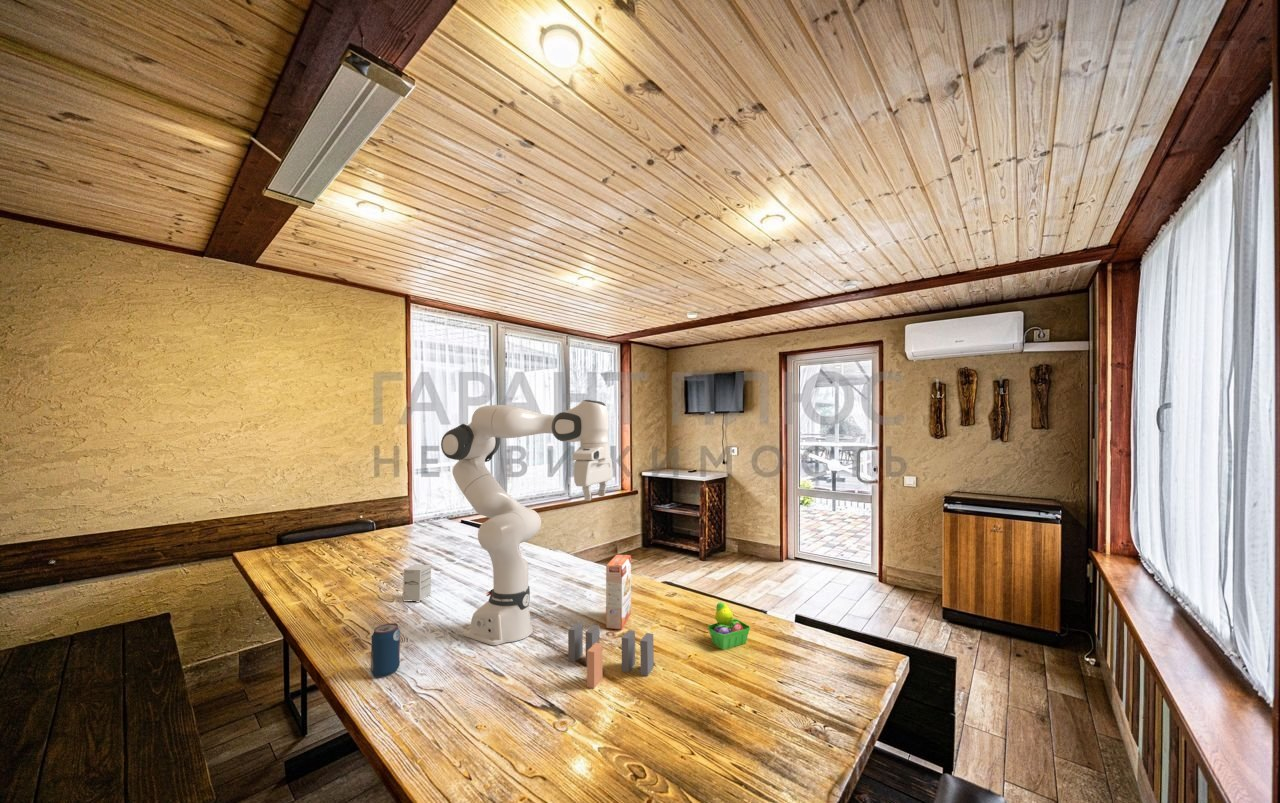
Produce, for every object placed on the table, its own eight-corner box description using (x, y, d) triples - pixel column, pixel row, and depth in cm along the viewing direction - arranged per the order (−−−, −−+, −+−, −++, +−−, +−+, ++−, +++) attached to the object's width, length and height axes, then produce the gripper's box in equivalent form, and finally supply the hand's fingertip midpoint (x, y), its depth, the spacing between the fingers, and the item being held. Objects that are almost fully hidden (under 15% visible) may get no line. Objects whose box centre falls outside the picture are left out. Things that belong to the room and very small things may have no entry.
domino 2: (585, 664, 130) (585, 632, 131) (593, 656, 135) (593, 624, 136) (592, 666, 130) (591, 633, 130) (599, 657, 134) (599, 625, 135)
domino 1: (568, 661, 132) (568, 629, 133) (576, 653, 137) (576, 622, 138) (574, 662, 132) (574, 630, 132) (582, 654, 136) (582, 623, 137)
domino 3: (587, 687, 119) (587, 651, 120) (595, 677, 124) (595, 642, 124) (594, 688, 118) (594, 652, 119) (602, 678, 123) (602, 643, 124)
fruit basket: (722, 653, 137) (721, 613, 137) (704, 641, 144) (703, 603, 145) (752, 644, 142) (751, 606, 142) (733, 633, 150) (732, 597, 150)
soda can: (405, 668, 130) (406, 624, 130) (384, 680, 123) (385, 634, 124) (386, 664, 132) (387, 621, 133) (364, 676, 125) (365, 631, 126)
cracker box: (623, 630, 152) (622, 565, 154) (605, 629, 154) (604, 564, 155) (632, 613, 166) (631, 554, 167) (615, 612, 167) (615, 553, 169)
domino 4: (621, 671, 127) (621, 637, 127) (628, 662, 131) (628, 630, 132) (628, 672, 126) (628, 638, 127) (635, 664, 131) (634, 631, 131)
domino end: (640, 675, 125) (640, 640, 125) (646, 666, 129) (646, 632, 130) (647, 676, 124) (647, 641, 125) (653, 667, 129) (653, 633, 129)
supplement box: (402, 602, 180) (402, 569, 181) (414, 595, 187) (415, 563, 188) (419, 603, 179) (420, 569, 180) (431, 596, 186) (431, 564, 187)
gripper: (599, 450, 153) (600, 493, 152) (569, 454, 134) (570, 502, 133) (617, 450, 151) (617, 493, 150) (589, 454, 132) (590, 503, 131)
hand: (595, 498), depth 142 cm, fingers open, 8 cm apart
